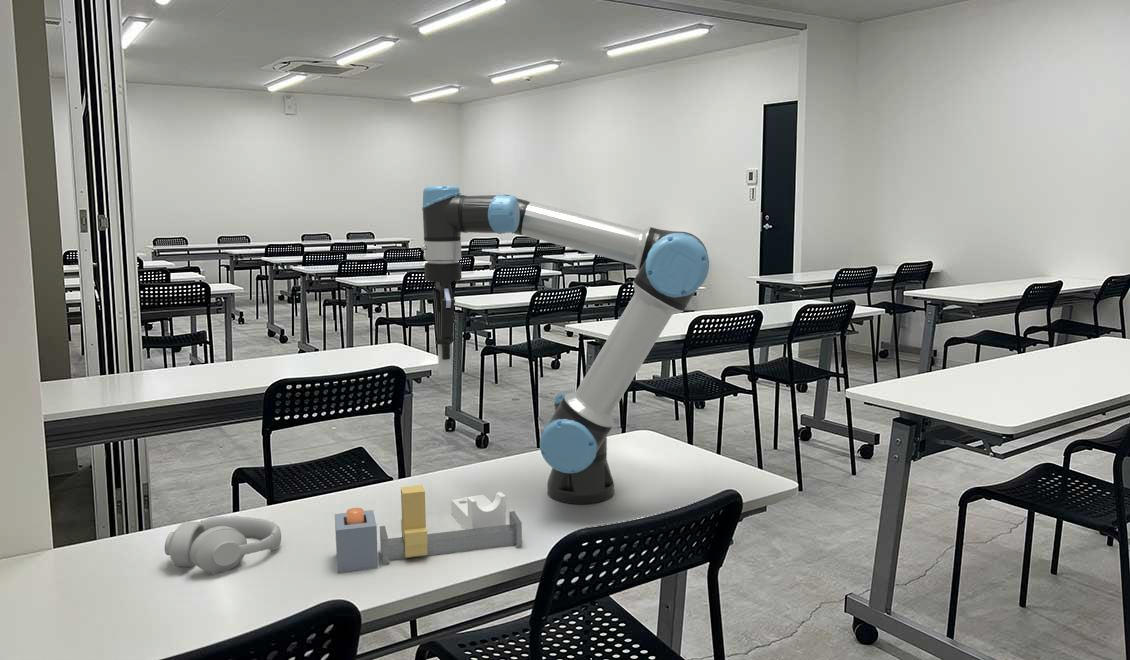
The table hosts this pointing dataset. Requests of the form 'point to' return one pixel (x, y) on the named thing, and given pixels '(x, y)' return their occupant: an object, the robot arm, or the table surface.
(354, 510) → the plunger
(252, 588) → the table surface
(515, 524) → the rail
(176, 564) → the headphones
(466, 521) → the bracket
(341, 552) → the housing
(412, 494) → the carriage
